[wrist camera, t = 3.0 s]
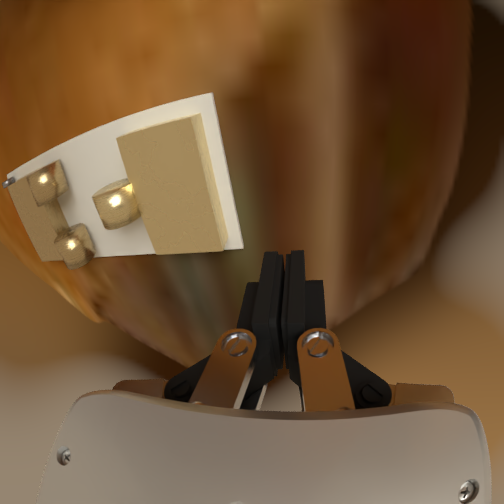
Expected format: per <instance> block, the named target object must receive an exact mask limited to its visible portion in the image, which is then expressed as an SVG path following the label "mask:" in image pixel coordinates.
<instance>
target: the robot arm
mask: <svg viewBox="0 0 504 504" xmlns="http://www.w3.org/2000/svg"><path fill="white" fill-rule="evenodd" d="M284 354H285V361H286V369H289V373H290V379H291V380H292V381H293V382H294V383H295V384H297V385H298V386H299V394H300V402H301V411H302V412H280V411H279V412H278V411H259V410H260V407H261V403H262V400H263V397H264V394H265V391H266V387H267V383H268V382H269V381H271V380H272V379H274V376H277V372H278V369H282V368H283V359H284ZM36 504H491V466H490V458H489V451H488V445H487V440H486V436H485V432H484V429H483V426H482V423H481V421H480V419H479V417H478V416H477V414H476V413H475V412H474V411H473V410H471V409H470V408H468V407H465V406H463V405H459V404H455V403H454V396H453V393H452V391H451V390H450V389H449V388H447V387H446V386H442V385H424V384H407V383H397V384H396V385H391V384H388V383H386V382H385V381H384V380H383V379H381V378H380V377H379V376H377V375H376V374H374V373H373V372H371V371H370V370H368V369H367V368H366V367H364V366H363V365H361V364H360V363H358V362H357V361H356V360H354V359H353V358H352V357H350V356H349V355H347V354H346V353H344V352H343V351H342V350H341V349H340V344H339V341H338V339H337V337H336V335H335V334H334V333H332V332H331V331H329V330H327V329H326V315H325V301H324V288H323V280H309V281H305V261H304V250H297V251H291V254H286V266H285V270H284V261H283V255H278V252H277V251H275V252H265V253H264V258H263V263H262V269H261V274H260V280H259V282H248V283H247V286H246V290H245V294H244V298H243V303H242V307H241V311H240V315H239V320H238V324H237V328H236V329H233V330H229V331H227V332H225V333H224V334H223V335H222V336H221V337H220V338H219V340H218V341H217V343H216V346H215V348H214V350H213V352H212V354H211V355H209V356H208V357H206V358H204V359H203V360H201V361H199V362H198V363H196V364H195V365H193V366H191V367H190V368H188V369H186V370H184V371H183V372H181V373H179V374H178V375H176V376H174V377H173V378H172V379H170V380H169V381H165V380H164V379H149V380H123V381H120V382H118V383H117V384H116V385H115V386H114V387H113V389H112V390H98V391H93V392H89V393H86V394H84V395H82V396H80V397H79V398H78V399H77V400H76V401H75V402H74V403H73V405H72V406H71V408H70V409H69V411H68V413H67V415H66V417H65V419H64V420H63V422H62V425H61V427H60V429H59V431H58V434H57V436H56V438H55V441H54V443H53V446H52V449H51V452H50V454H49V458H48V460H47V463H46V467H45V469H44V473H43V476H42V480H41V484H40V488H39V492H38V495H37V500H36Z"/></svg>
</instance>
